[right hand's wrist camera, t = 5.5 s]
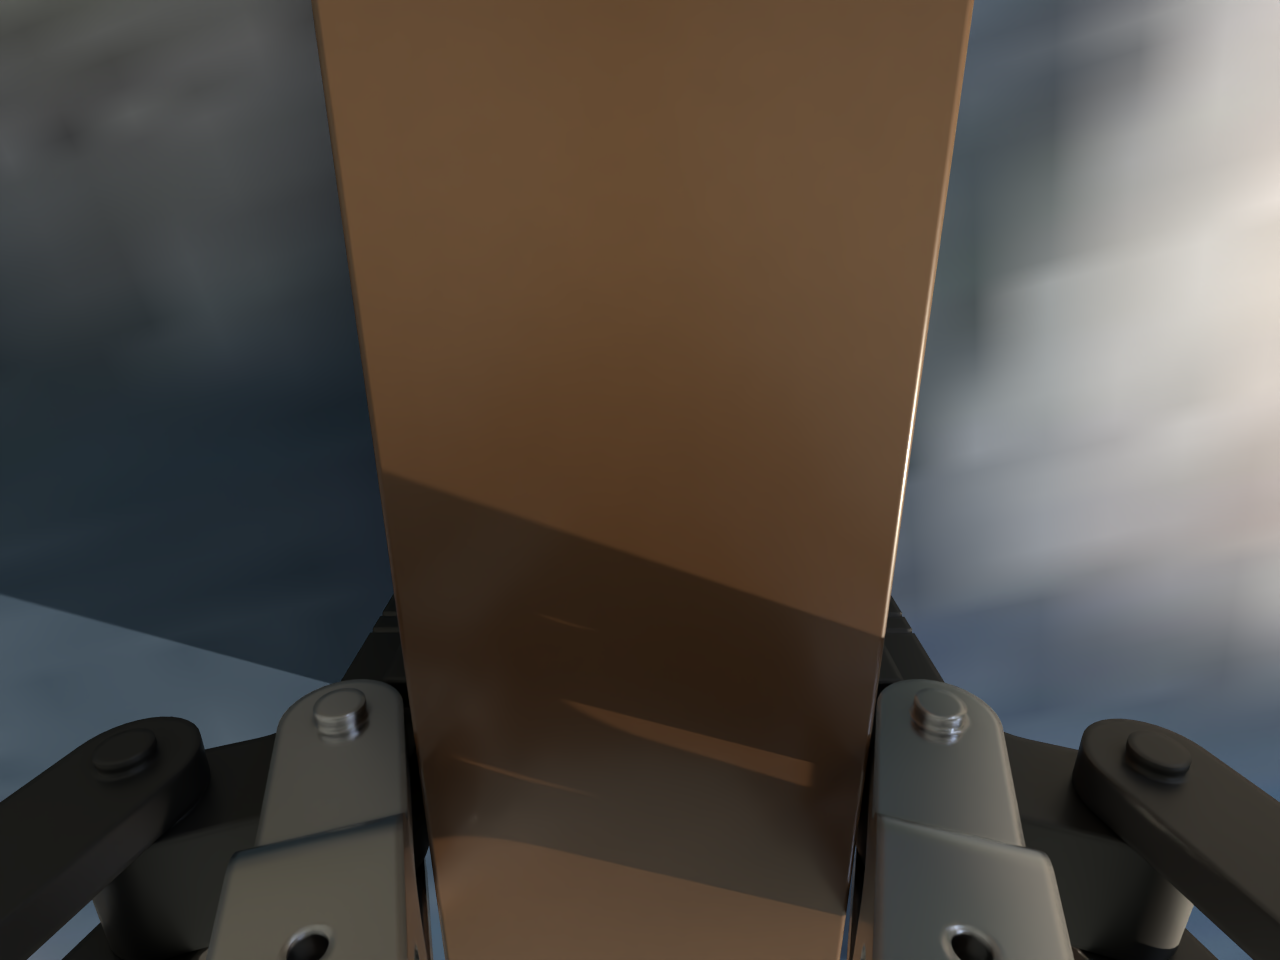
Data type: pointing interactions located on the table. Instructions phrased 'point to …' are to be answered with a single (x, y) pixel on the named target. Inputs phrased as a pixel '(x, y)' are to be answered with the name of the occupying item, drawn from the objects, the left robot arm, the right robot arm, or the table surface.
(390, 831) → the right robot arm
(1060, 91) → the table surface
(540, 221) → the post
